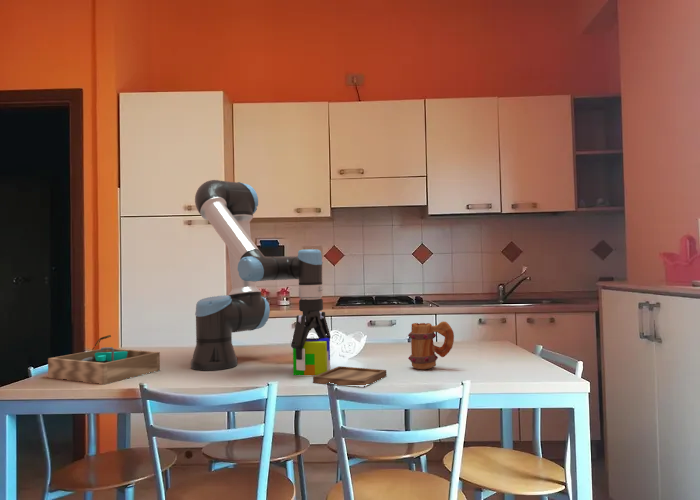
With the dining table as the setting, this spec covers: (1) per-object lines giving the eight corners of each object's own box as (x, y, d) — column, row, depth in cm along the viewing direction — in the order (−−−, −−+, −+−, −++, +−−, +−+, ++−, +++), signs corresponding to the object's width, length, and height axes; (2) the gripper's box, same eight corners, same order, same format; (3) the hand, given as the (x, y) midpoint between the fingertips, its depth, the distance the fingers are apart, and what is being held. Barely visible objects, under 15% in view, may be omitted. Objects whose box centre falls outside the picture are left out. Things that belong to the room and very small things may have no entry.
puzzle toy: (330, 369, 174) (329, 338, 174) (325, 375, 164) (325, 342, 164) (299, 369, 174) (299, 338, 175) (293, 375, 165) (292, 343, 165)
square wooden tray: (313, 382, 154) (313, 376, 154) (339, 372, 168) (339, 366, 168) (363, 387, 147) (363, 381, 147) (386, 376, 161) (386, 370, 161)
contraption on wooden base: (69, 382, 162) (68, 332, 162) (91, 370, 180) (91, 325, 180) (117, 380, 163) (117, 330, 164) (135, 368, 181) (134, 323, 182)
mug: (405, 370, 169) (404, 322, 170) (412, 365, 177) (411, 319, 177) (451, 372, 164) (450, 323, 164) (456, 367, 171) (455, 320, 172)
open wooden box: (48, 377, 168) (48, 358, 169) (106, 365, 188) (106, 348, 188) (103, 384, 157) (103, 363, 157) (159, 370, 176) (159, 352, 176)
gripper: (299, 301, 157) (301, 374, 156) (339, 295, 179) (341, 359, 178) (278, 301, 160) (279, 372, 160) (320, 295, 182) (321, 358, 182)
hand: (312, 366), depth 169 cm, fingers open, 13 cm apart
